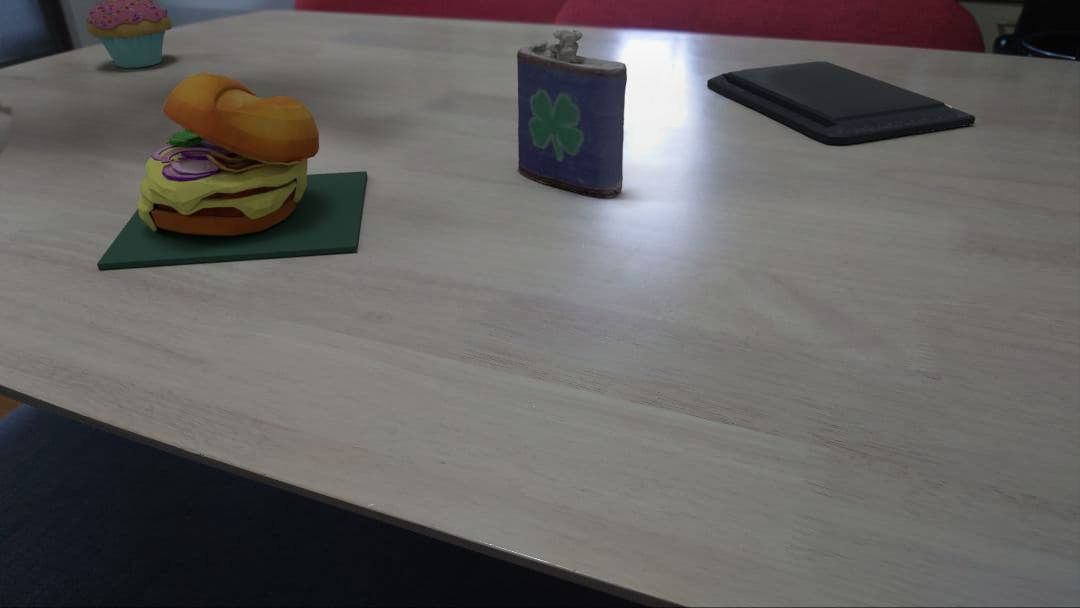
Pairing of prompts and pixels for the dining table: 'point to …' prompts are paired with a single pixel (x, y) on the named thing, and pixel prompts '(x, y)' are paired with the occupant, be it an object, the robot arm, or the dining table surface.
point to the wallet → (836, 102)
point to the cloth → (310, 229)
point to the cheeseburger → (228, 160)
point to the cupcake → (130, 31)
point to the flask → (571, 117)
